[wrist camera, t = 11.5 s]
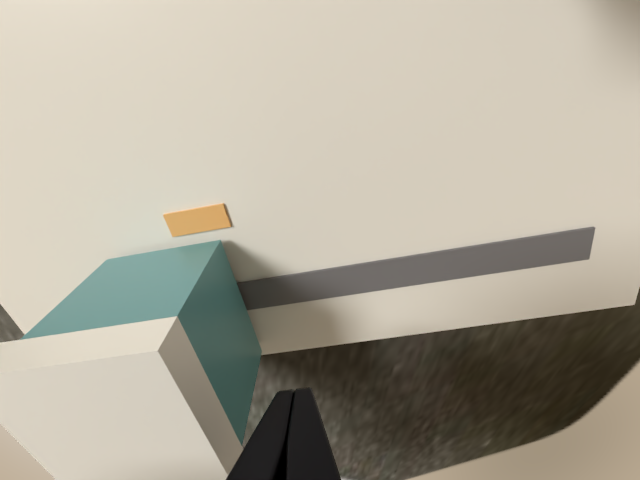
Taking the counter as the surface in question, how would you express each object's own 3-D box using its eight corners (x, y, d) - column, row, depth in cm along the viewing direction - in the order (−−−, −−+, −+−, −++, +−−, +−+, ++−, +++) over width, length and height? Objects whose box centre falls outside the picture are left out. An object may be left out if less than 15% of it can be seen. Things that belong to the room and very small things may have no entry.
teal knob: (224, 233, 11) (157, 351, 7) (268, 354, 13) (241, 498, 9) (98, 255, 11) (-44, 379, 7) (163, 368, 14) (88, 512, 9)
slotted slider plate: (776, -566, 6) (977, -842, 4) (596, 274, 14) (636, 306, 12) (-279, -191, 8) (-452, -263, 6) (90, 347, 17) (60, 384, 15)
